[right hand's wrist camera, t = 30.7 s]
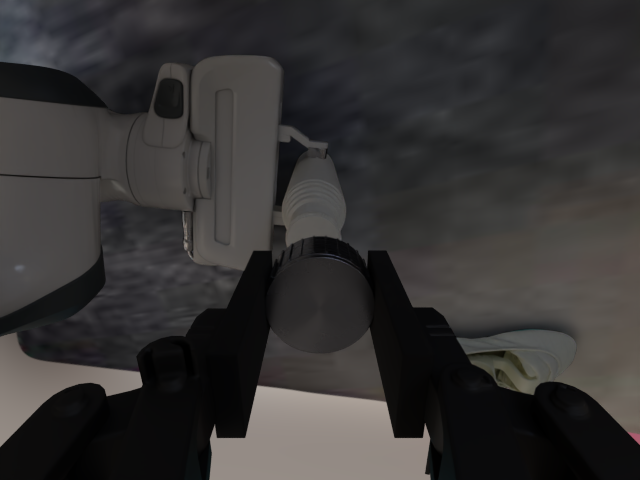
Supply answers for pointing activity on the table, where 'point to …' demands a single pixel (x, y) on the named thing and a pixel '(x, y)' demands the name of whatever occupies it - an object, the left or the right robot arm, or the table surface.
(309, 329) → the cap
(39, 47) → the table surface
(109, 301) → the table surface
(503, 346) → the ballet flat
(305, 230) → the bottle
